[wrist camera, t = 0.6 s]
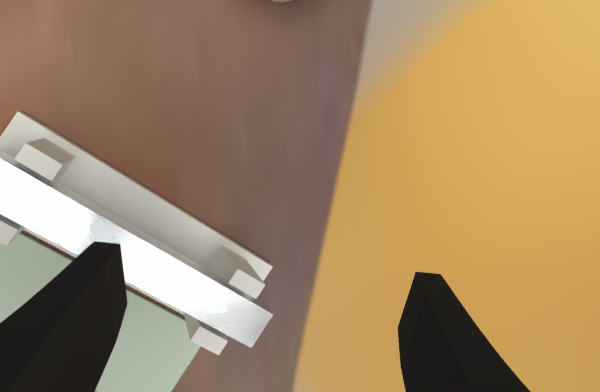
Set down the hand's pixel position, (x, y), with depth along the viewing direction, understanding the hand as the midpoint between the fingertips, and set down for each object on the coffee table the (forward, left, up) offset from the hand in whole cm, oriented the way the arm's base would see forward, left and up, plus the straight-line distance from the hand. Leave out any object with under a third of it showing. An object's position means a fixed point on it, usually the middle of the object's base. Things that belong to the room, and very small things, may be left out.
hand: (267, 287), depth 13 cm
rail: (-5, +1, -19) cm, 20 cm away
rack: (-5, +1, -23) cm, 24 cm away
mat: (-12, +1, -23) cm, 26 cm away
